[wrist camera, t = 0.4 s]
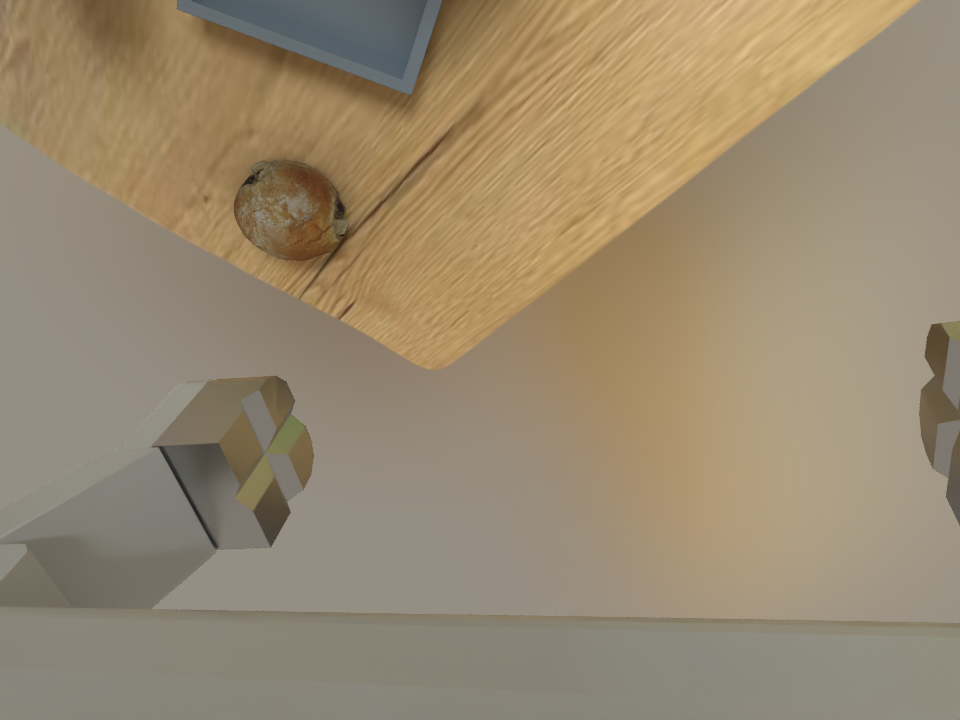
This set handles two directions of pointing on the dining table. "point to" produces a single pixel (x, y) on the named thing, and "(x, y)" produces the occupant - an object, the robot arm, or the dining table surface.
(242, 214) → the bread roll
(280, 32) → the tray
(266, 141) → the dining table surface
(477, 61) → the dining table surface
